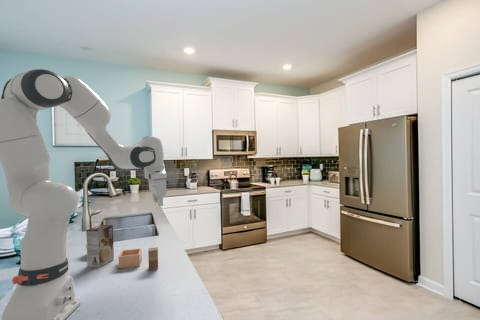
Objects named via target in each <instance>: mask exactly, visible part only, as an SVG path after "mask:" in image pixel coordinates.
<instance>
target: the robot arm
mask: <svg viewBox="0 0 480 320" xmlns="http://www.w3.org/2000/svg"><path fill="white" fill-rule="evenodd" d="M54 107H60V108H62V109H63V110H65V111H66V112H67V114H69V115H70V116H71V117H72V118H73V119H74V120H75V121H76V122H77V123H78V124H79V125H80V126H81V127H82V128H83V129H84V131H85V132H86V133H87V135H88V136H89V138H91V139H92V141H93V142H94V143H96V145H97V146H98V148H100V149H101V150H102V152H103V153H104V154H105V155H106V157H107V158H108V161H109V163H110V165H111V166H112V168H115V169H116V170H118V171H125V170H139V169H143V171H144V174H143V175H144V179H147V181H148V188H149V192H151V193H152V197H153V202H155V203H157V205H158V207H163V206H164V197H166V196H167V178H168V175H167V172H166V166H165V163H164V148H163V144H162V141H161V139H160V138H159V137H157V136H149V135H148V136H143V137H141V139H140V140H139V141H138V142H136V143H135V144H133V145H128V146H125V145H122V144H119V143H118V142H117V140H116V139H115V138H114V137H113V136H112V134H110V132H109V131H108V129H107V126H108V125H109V124H110V121H111V119H112V118H111V117H112V113H111V110H110V108H109V107H108V105H107V104H106V103H105V101H104V100H103V99H101V98H100V96H99V95H98V94H97V93H96V92H95V91H94V90H93V89H92V88H91V87H89V85H87V84H86V83H85V82H83V81H82V80H81V79H79V78H78V77H77V76H73V75H72V76H71V75H68V76H61V75H59V74H57V73H55V72H54V71H51V70H48V69H44V68H43V69H42V68H36V69H31V70H29V71H25V72H21V73H18V74H17V75H15V76H13V77H11V78H10V79H8V80H7V81H6V83H5V84H4V87H3V89H2V94H1V96H0V164H1V166H2V169H3V171H4V175H5V181H6V185H7V186H6V187H7V191H8V195H9V196H8V204H9V206H10V208H11V209H12V210H13V211H15V212H16V213H17V214H19V215H21V216H25V217H27V224H26V230H25V233H24V235H23V237H22V238H21V240H20V247H19V248H20V267H19V269H18V273H17V275H14V276H13V277H12V280H11V281H12V282H11V283H12V285H16V284H17V285H16V287H15V288H14V290H13V291H12V292H13V293H12V294H11V296H10V297H9V300H8V302H7V304H6V305H5V308H4V310H3V312H2V315H1V320H66V319H67V318H68V317H69V316H70V315H71V314H72V313H73V312H74V311H75V310H76V309H77V308H78V307H79V306H80V305H81V299H79V298H76V292H75V291H76V289H75V280H74V278H73V276H71V275H70V273H69V259H68V257H67V233H68V227H69V224H70V220H71V216H72V215H73V213H75V211H76V210H77V208H78V206H79V204H80V203H79V202H80V198H79V194H78V193H77V191H76V190H75V189H74V188H72V187H71V186H70V185H67V184H64V183H61V182H53V181H52V179H51V176H50V163H51V156H50V153H49V151H48V149H47V148H48V147H47V145H46V143H45V140H44V138H43V135H42V132H41V129H40V127H39V125H38V120H37V115H38V112H39V111H45V110H47V109H50V108H54Z"/></svg>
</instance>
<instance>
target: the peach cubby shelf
mask: <svg viewBox="0 0 480 320" xmlns="http://www.w3.org/2000/svg"><path fill="white" fill-rule="evenodd" d="M142 256H143V253H142V248H132V249H122V250H121V252H120V253H119V255H118V269H130V268H136V267H140V266H141V263H142V259H143V258H142Z"/></svg>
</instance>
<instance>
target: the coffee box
mask: <svg viewBox="0 0 480 320" xmlns="http://www.w3.org/2000/svg"><path fill="white" fill-rule="evenodd" d="M85 232H86V236H85V237H86V244H87V248H86V260H87V262H86V266H87V267H88V268H101V267H103V266H105V265H106V264H109V263H110V262H112V261H114V260H115V255H114V253H115V252H114V250H115V249H114V248H115V247H114V225H113V224H100V225H97V226H93V227H91V228H88V229H86V231H85Z"/></svg>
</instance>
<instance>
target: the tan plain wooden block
mask: <svg viewBox="0 0 480 320" xmlns="http://www.w3.org/2000/svg"><path fill="white" fill-rule="evenodd" d="M147 254H148V271H155V270H156V271H157V270H159V248H158V247H150V248H148V253H147Z"/></svg>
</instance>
